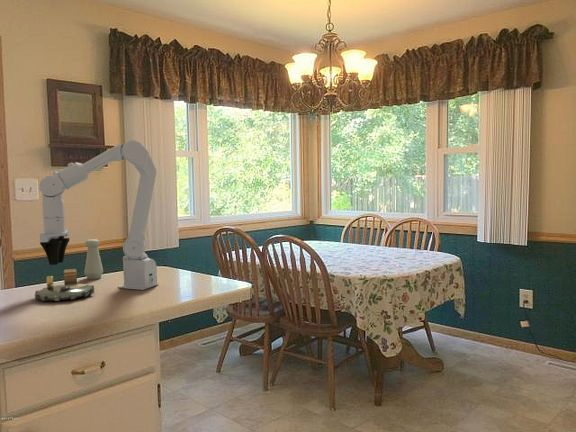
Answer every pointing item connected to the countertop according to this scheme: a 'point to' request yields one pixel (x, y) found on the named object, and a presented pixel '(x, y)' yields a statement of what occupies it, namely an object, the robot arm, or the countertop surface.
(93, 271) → the salt shaker
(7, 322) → the countertop surface
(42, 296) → the sprocket
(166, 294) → the countertop surface
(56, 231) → the robot arm
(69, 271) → the link block
